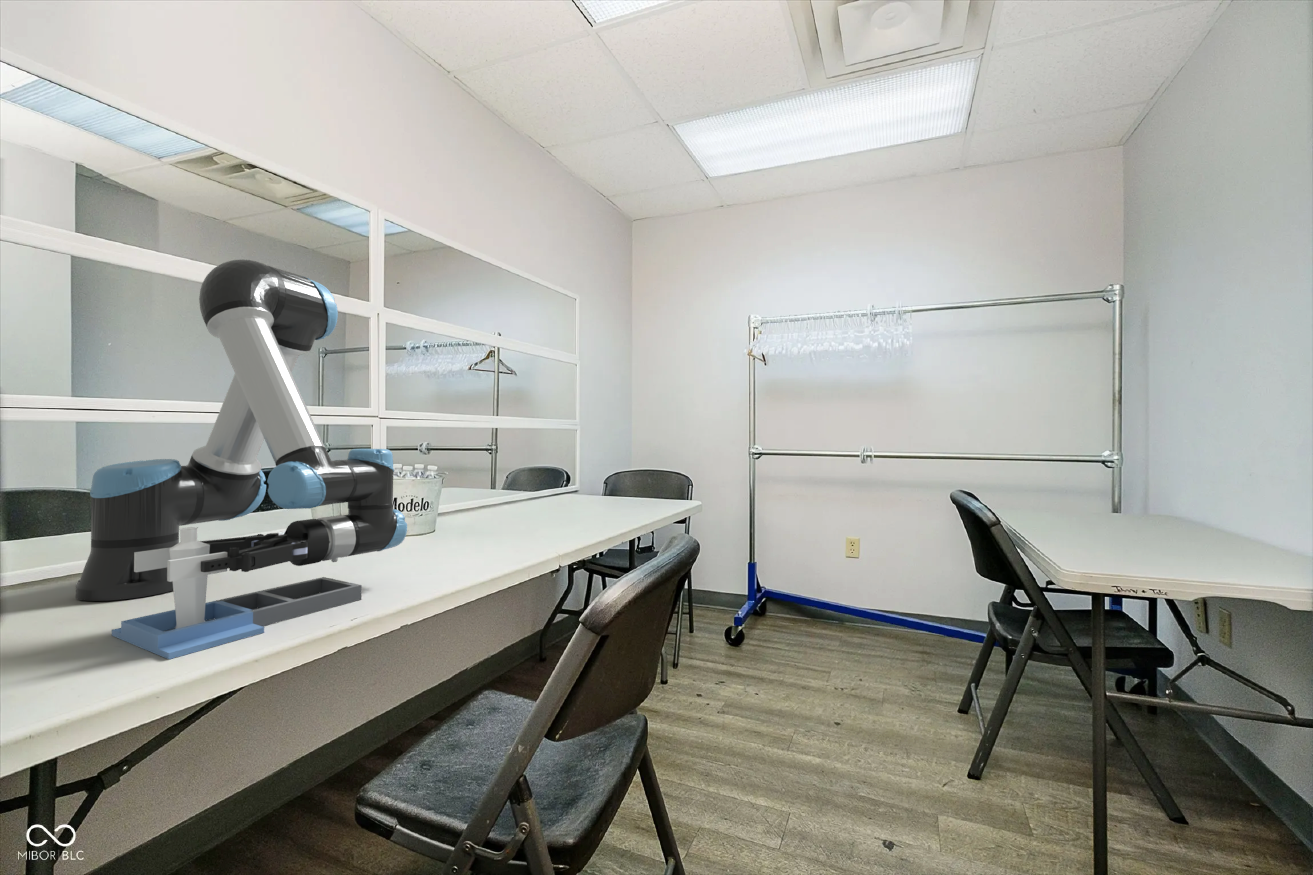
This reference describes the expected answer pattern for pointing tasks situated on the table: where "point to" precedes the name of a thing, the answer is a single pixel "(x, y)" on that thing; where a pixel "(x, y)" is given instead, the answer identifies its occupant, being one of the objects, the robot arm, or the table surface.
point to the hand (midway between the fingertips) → (151, 566)
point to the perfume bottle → (189, 581)
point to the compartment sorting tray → (235, 617)
